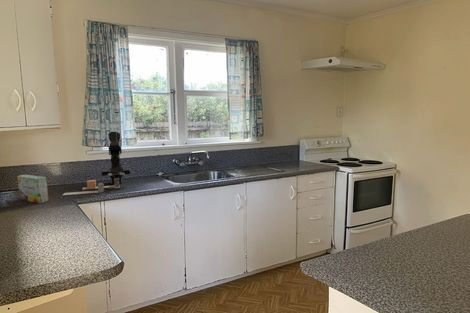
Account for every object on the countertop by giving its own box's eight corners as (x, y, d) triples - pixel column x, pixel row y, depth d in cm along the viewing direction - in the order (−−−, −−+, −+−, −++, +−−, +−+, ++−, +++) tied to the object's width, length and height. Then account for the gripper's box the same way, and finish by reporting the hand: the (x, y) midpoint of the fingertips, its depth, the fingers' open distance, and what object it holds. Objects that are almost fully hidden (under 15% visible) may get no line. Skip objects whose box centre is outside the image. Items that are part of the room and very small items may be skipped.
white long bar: (104, 191, 220) (103, 182, 219) (103, 193, 214) (102, 184, 213) (64, 194, 214) (63, 185, 213) (62, 196, 208) (61, 187, 207)
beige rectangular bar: (119, 186, 235) (119, 178, 234) (119, 187, 229) (118, 179, 228) (83, 188, 228) (82, 180, 228) (81, 190, 223) (80, 182, 222)
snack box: (19, 200, 202) (16, 175, 200) (28, 197, 207) (25, 174, 205) (40, 203, 192) (37, 178, 190) (49, 201, 197) (47, 176, 195)
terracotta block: (96, 186, 230) (95, 179, 229) (95, 188, 225) (94, 181, 225) (88, 187, 229) (87, 180, 228) (87, 189, 224) (86, 181, 223)
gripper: (99, 164, 219) (101, 188, 221) (129, 163, 224) (130, 185, 226) (101, 162, 230) (103, 184, 232) (129, 161, 234) (131, 182, 236)
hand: (117, 184), depth 231 cm, fingers closed on beige rectangular bar, 3 cm apart
